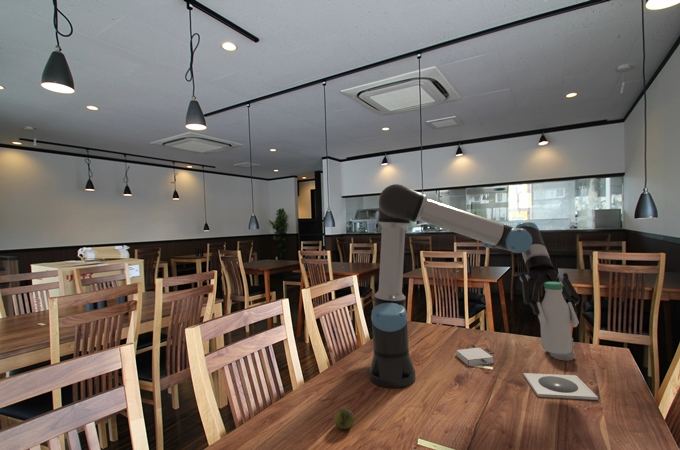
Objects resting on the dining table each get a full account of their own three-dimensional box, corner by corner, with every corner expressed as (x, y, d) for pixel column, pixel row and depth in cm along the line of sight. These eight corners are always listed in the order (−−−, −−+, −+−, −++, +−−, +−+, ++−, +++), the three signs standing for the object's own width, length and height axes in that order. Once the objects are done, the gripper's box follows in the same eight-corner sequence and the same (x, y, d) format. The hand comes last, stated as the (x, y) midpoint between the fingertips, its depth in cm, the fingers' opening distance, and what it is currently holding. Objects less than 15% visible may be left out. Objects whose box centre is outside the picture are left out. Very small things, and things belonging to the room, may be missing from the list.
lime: (332, 427, 87) (331, 408, 87) (347, 420, 90) (346, 402, 90) (342, 436, 83) (341, 416, 83) (358, 428, 86) (357, 409, 86)
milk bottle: (578, 354, 97) (575, 284, 96) (551, 355, 97) (547, 285, 96) (561, 344, 104) (558, 279, 104) (536, 345, 104) (532, 281, 104)
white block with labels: (449, 350, 133) (449, 344, 133) (477, 347, 134) (476, 341, 134) (476, 373, 113) (476, 365, 113) (508, 370, 114) (508, 362, 114)
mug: (560, 362, 117) (559, 327, 117) (536, 349, 128) (534, 318, 128) (580, 359, 118) (578, 325, 118) (554, 347, 129) (553, 316, 129)
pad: (537, 396, 96) (537, 393, 96) (523, 375, 109) (523, 372, 109) (598, 400, 93) (597, 396, 93) (576, 377, 105) (576, 375, 105)
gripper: (568, 267, 113) (596, 331, 97) (502, 268, 117) (518, 330, 102) (575, 253, 108) (605, 318, 92) (505, 255, 112) (523, 317, 97)
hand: (559, 324), depth 97 cm, fingers closed on milk bottle, 8 cm apart
